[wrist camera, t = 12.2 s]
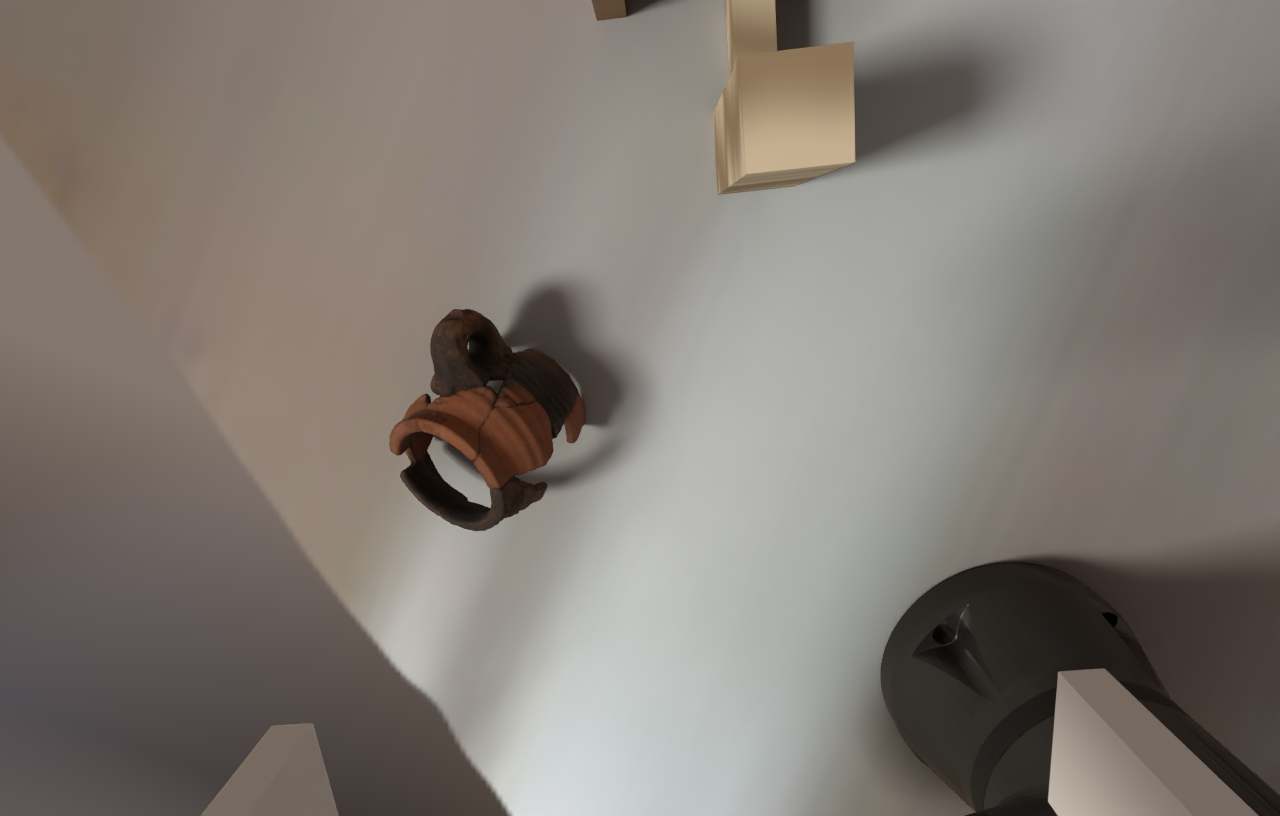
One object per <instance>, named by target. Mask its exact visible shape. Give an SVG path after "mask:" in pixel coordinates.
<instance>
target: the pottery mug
mask: <svg viewBox="0 0 1280 816" xmlns="http://www.w3.org/2000/svg"><path fill="white" fill-rule="evenodd" d="M468 342H469V349H467V345H468ZM431 356H432V360H433V364H434V371H435V374H434V376H433V378H432V381H431V385H430V386H431V389H432V391H433V392H434V393H435V394H437V395H440V397H439V398H437V399H435V400H434V401H433V402H432V403H431V398H430V396H429V395H428V394H424V395H422V396H421V397H420V398H418V399H417V400H416V401H415V402H414V403H413V404H412V405H411V406H410V407H409V409H408V410H407V412H406V414H405V417H404V418H403V420H402V421H400V422H399V423H397V424H396V425H395V427H394V428H393V430H392V432H391V434H390V443H389V445H390V450H391V452H393V453H394V454H396V455H401V454H402V453H404V452H406V454H407V456H408V457H409V459H410V461H411V465H410V466H409V467H408V468H406V469H405V470H403V471H402V472H401V474H400V477H401V479H402V481H403V482H404V483H405V485H406V486H407V488H408V489H409V490H410V491H411V492H412V493H413V494H414V496H415V497H416V498H417V499H418V500H419V501H420V502H421V503H422V504H423V505H424V506H426V507H427V508H428V509H429V510H431V511H432V512H434V513H435V514H436V515H438V516H441V517H442V518H443V519H445V520H446V521H448V522H450V523H451V524H453V525H457V526H459V527H462V528H464V529H468V530H473V531H485V530H487V529H490V528H492V527H493V526H495V525H497V524H498V523H499V522H500V521H501V520H503V519H504V518H507V517H511V516H513V515H514V514H518V513H519V511H520V510H524V509H525V508H527V507H528V506H529V505H530V504H532V503H533V502H536V501H538V500H540V499H541V498H542V497H543V495H544V493H545V491H546V489H547V483H545V482H541V483H538V484H536V485H533V484H530V483H526V482H523V481H521V480H519V479H518V478H516V477H515V475H519V474H524V473H526V472H528V471H532V470H535V469H537V468H540V467H543V466H545V465H546V464H547V462H548V460H549V459H550V458H551V455H552V453H553V442H552V439H553V438H556V437H557V435H558V434H559V432H560V430H561V429H562V426H563V424H564V425H565V429H566V436H567V442H568V443H574V442H575V441H576V440H577V439H578V437H579V434H580V432H581V428H582V426H583V425H584V422H585V411H584V406H583V402H582V399H581V397H580V394H579V393H578V390H577V388H576V386H575V384H574V383H573V381H572V380H571V378H570V376H569V375H568V374H567V373H566V372H565V371H564V370H563V369H562V368H561V367H560V365H559V364H557V363H556V362H555V361H554V360H553V359H551V358H549V357H547V356H545V355H544V354H542V353H540V352H537V351H535V350H533V349H527V350H525V351H519V352H517V353H513V352H512V350H511V348H510V347H509V346H507V345H506V344H505V342H504V341H503V339H502V337H501V336H500V334H499V332H498V330H497V328H496V327H495V325H494V324H493V323H492V322H491V321H490V320H489V319H487V318H486V317H484V316H483V315H482V314H480V313H478V312H476V311H474V310H470V309H465V310H458V309H454V310H452V311H451V312H450V313H449V314H448V315H447V316H446V317H445V318H444V319H442V320H441V321H440V322H439V324H437V326H436V327H435V329H434V331H433V334H432V338H431ZM493 380H503V386H502V388H501V389H500V391H499V393H498V394H497V393H496V392H495V391H494V390H493V389H492V388H491V387H489V386H487V385H486V384H487V383H488V382H489V381H493ZM434 435H435V436H437V437H439V438H441V439H443V440H445V441H447V442H448V443H450V444H451V445H453V446H454V447H456V448H457V449H458V450H460V451H461V452H462V453H463V454H464V455H465V456H466V457H467V458H468V459H470V460H471V461H473V463H474V465H475V467H476V468H477V469H478V470H479V472H480V473H481V475H482V477H483V478H484V480H485V482H486V484H487V486H488V487H489V488H490V495H491V501H492V505H491V508H488V507H485V506H483V505H480V504H477V503H473V502H469V501H468V499H467V497H465V496H464V495H463V494H462V493H460V492H458V491H457V490H455V489H454V488H453V487H451V486H450V485H449V484H448V483H447V482H445V481H444V480H443V479H442V477H441V476H440V474H439V473H438V471H437V469H436V468H435V466H434V464H433V462H432V460H431V458H430V455H429V454H428V452H427V449H428V447H429V445H430V443H431V440H432V438H433V436H434Z"/></svg>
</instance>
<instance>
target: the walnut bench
mask: <svg viewBox="0 0 1280 816" xmlns="http://www.w3.org/2000/svg"><path fill="white" fill-rule="evenodd" d="M592 3H593V7H594V11H595V14H596V18H597V20H605V19H613V18H621V17H626V7H625V0H592Z"/></svg>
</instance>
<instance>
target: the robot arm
mask: <svg viewBox="0 0 1280 816" xmlns="http://www.w3.org/2000/svg"><path fill="white" fill-rule="evenodd" d="M881 687H882V693H883V697H884V700H885V703H886V706H887V708H888V710H889V713H890V715H891V717H892V719H893V721H894V723H895V725H896V727H897V729H898V731H899V732H900V734H901V736H902V738H903V739H904V741H905V742H906V744H907V745H908V747H909V748H910V749H911V750H912V752H913V753H914V754H915V755H916V756H917V757H918V758H919V759H920V760H921V761H922V762H923V763H924V764H925V765H927V766H928V767H929V768H931V770H932V771H933V772H934V773H935V774H936V775H937V776H938V777H939V778H940V779H941V780H943V781H944V782H945V783H946V784H947V785H948V786H949V787H950V788H951V789H952V790H953V791H954V792H955V793H956V794H957V795H958V796H959V797H960V798H961V799H962V800H963V801H964V802H965V803H967V804H968V805H969V806H970V807H971V808H972V809H973V810H974V811H975V812H976V813H972V814H969V815H966V816H1280V795H1279V794H1278V793H1277V792H1275V791H1274V790H1273V789H1272V788H1271V787H1270V786H1269V785H1268V784H1266V783H1265V782H1264V781H1263V780H1262V779H1261V778H1260V777H1258V776H1257V775H1256V774H1255V773H1254V772H1253V771H1252V770H1250V769H1249V768H1248V767H1247V766H1246V765H1245V764H1244V763H1243V762H1241V761H1240V760H1239V759H1238V758H1237V757H1236V756H1235V755H1233V754H1232V753H1231V752H1230V751H1229V750H1228V749H1227V748H1225V747H1224V746H1223V745H1222V744H1221V743H1220V742H1219V741H1218V740H1216V739H1215V738H1214V737H1213V736H1212V735H1211V734H1210V733H1208V732H1207V731H1206V730H1205V729H1204V728H1203V727H1202V726H1200V725H1199V724H1198V723H1197V722H1196V721H1194V720H1193V719H1192V718H1191V717H1190V716H1189V715H1188V714H1187V713H1185V712H1184V711H1183V710H1182V709H1181V708H1180V707H1179V706H1178V705H1177V704H1176V703H1175V702H1174V701H1172V700H1171V698H1170V696H1169V695H1168V693H1167V691H1166V689H1165V688H1164V686H1163V684H1162V682H1161V681H1160V679H1159V677H1158V675H1157V674H1156V672H1155V670H1154V668H1153V667H1152V665H1151V663H1150V661H1149V660H1148V658H1147V656H1146V654H1145V653H1144V651H1143V649H1142V647H1141V645H1140V644H1139V642H1138V640H1137V639H1136V637H1135V635H1134V633H1133V632H1132V630H1131V628H1130V627H1129V625H1128V624H1127V623H1126V621H1125V620H1124V619H1123V618H1122V616H1121V615H1120V614H1119V613H1118V612H1117V611H1116V610H1115V609H1114V608H1113V607H1112V606H1111V605H1110V604H1108V603H1107V602H1106V601H1105V600H1104V599H1102V598H1101V597H1100V596H1099V595H1097V594H1096V593H1095V592H1094V591H1092V590H1091V589H1090V588H1089V587H1087V586H1086V585H1085V584H1083V583H1082V582H1081V581H1079V580H1077V579H1076V578H1074V577H1072V576H1070V575H1068V574H1066V573H1064V572H1061V571H1059V570H1056V569H1053V568H1049V567H1045V566H1041V565H1035V564H1026V563H1003V564H994V565H988V566H983V567H979V568H975V569H972V570H969V571H966V572H963V573H961V574H958V575H956V576H954V577H951V578H949V579H947V580H946V581H944V582H942V583H940V584H939V585H937V586H935V587H934V588H932V589H931V590H929V591H928V592H927V593H925V594H924V595H923V596H922V597H920V598H919V599H918V600H917V601H916V602H915V603H914V604H913V605H912V606H911V607H910V608H909V609H908V610H907V611H906V613H905V614H904V615H903V616H902V618H901V619H900V620H899V622H898V623H897V625H896V626H895V628H894V630H893V631H892V633H891V635H890V638H889V640H888V642H887V645H886V647H885V651H884V654H883V659H882V665H881ZM201 816H338V812H337V809H336V805H335V801H334V798H333V795H332V791H331V787H330V784H329V780H328V776H327V773H326V769H325V765H324V762H323V759H322V755H321V751H320V748H319V744H318V740H317V737H316V733H315V730H314V726H313V723H306V724H291V725H279V726H278V725H277V726H271V728H270V729H269V730H268V731H267V733H266V734H265V735H264V736H263V738H262V739H261V740H260V742H259V743H258V744H257V745H256V746H255V748H254V749H253V750H252V752H251V753H250V754H249V755H248V757H247V758H246V759H245V760H244V762H243V763H242V764H241V765H240V767H239V768H238V769H237V771H236V772H235V773H234V774H233V776H232V777H231V778H230V780H229V781H228V782H227V783H226V784H225V786H224V787H223V788H222V790H221V791H220V792H219V793H218V795H217V796H216V797H215V798H214V800H213V801H212V802H211V803H210V805H209V806H208V807H207V809H206V810H205V811H204V812H203V814H202V815H201Z"/></svg>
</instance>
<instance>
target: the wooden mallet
mask: <svg viewBox="0 0 1280 816" xmlns="http://www.w3.org/2000/svg"><path fill="white" fill-rule="evenodd" d="M725 10H726V26H727V43H728V60H729V76H730V78H729V80H728V82H727V84H726V86H725V89H724V91H723V93H722V95H721V97H720V100H719V102H718V104H717V106H716V108H715V110H714V113H713V128H714V143H715V158H716V173H717V187H718V195H719V194H728V193H737V192H747V191H756V190H765V189H774V188H783V187H792V186H795V185H798V184H800V183H803V182H805V181H808V180H811V179H813V178H816V177H818V176H821V175H823V174H826V173H829V172H831V171H834V170H836V169H839V168H842V167H844V166H847V165H849V164H852V163H854V162H855V111H854V43H853V42H847V43H839V44H831V45H822V46H814V47H806V48H797V49H789V50H781V51H777V34H776V10H775V0H725Z"/></svg>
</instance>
